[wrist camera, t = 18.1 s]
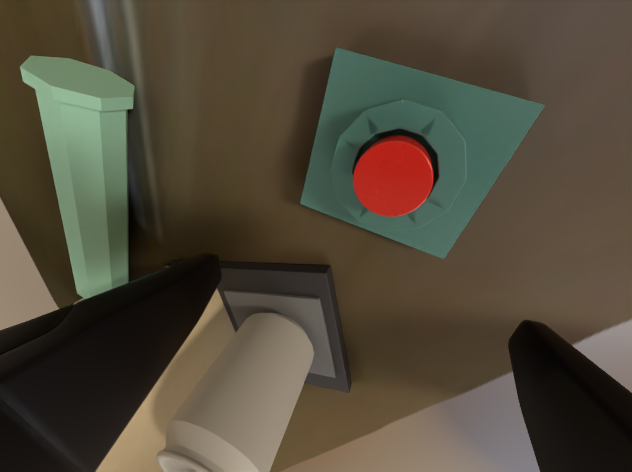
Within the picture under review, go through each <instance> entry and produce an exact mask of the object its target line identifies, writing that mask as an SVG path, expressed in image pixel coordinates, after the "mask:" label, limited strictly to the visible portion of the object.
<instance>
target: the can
mask: <svg viewBox="0 0 632 472" xmlns="http://www.w3.org/2000/svg"><path fill="white" fill-rule="evenodd" d="M313 357H314V350H313V346H312V343H311V342H310V340H309V339H308V336H307V335H306V333H305V331H304V330H303V329H302V328H301V327H300V326H299V325H298V324H297V323H296V322H295V321H293V320H292V319H290V318H289V317H286V316H284V315H281V314H278V313H257V314H253V315H251V316H250V317H248V318H247V319H246V320H245V321H244V323H243V324H242V325H241V327H240V328H239V329H238V330H237V332H236V333H235V334H234V336H233V337H232V338H231V340H230V341H229V342H228V344H227V345H226V346H225V348H224V349H223V350H222V352H221V353H220V354H219V356H218V357H217V358H216V360H215V361H214V362H213V364H212V365H211V366H210V368H209V369H208V370H207V372H206V373H205V374H204V376H203V377H202V378H201V380H200V381H199V382H198V384H197V385H196V386H195V387H194V389H193V390H192V391H191V393H190V394H189V395H188V397H187V398H186V399H185V401H184V402H183V403H182V405H181V406H180V407H179V409H178V410H177V411H176V413H175V414H174V415H173V417H172V418H171V419H170V421H169V422H168V424H167V427H166V445H165V448H164V449H163V450H162V451H159V452H158V454H157V457H156V460H157V462H158V464H159V466H160V467H161V469H162V470H163V471H164V472H269V471H270V469H271V466H272V464H273V461H274V458H275V456H276V453H277V451H278V448H279V446H280V443H281V441H282V438H283V435H284V433H285V430H286V428H287V425H288V423H289V420H290V417H291V415H292V412H293V410H294V407H295V405H296V402H297V400H298V397H299V394H300V392H301V389H302V387H303V384H304V382H305V379H306V377H307V374H308V371H309V369H310V366H311V364H312V361H313Z"/></svg>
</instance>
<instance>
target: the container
mask: <svg viewBox="0 0 632 472" xmlns="http://www.w3.org/2000/svg"><path fill="white" fill-rule="evenodd" d="M20 69H21V74H22V78H23V82H25V83H26V84H28V85H30V86H31V87H33V88H34V89H35V90H36V95H37V100H38V105H39V110H40V115H41V119H42V124H43V129H44V134H45V139H46V144H47V149H48V154H49V158H50V163H51V168H52V173H53V178H54V183H55V188H56V193H57V197H58V202H59V207H60V212H61V217H62V222H63V227H64V232H65V236H66V241H67V246H68V251H69V256H70V261H71V266H72V271H73V275H74V280H75V285H76V290H77V294H79V295H80V296H82V297H83V298H85V299H87V298H90V297H92V296H95V295H97V294H100V293H103V292H105V291H108V290H110V289H113V288H116V287H118V286H121V285H123V284H126V283H129V208H128V109H133V105H134V97H135V86H134V85H133V84H131V83H129V82H128V81H126V80H125V79H123V78H121V77H120V76H118V75H116V74H115V73H113V72H111V71H109V70H106V69H103V68H99V67H96V66H93V65H90V64H86V63H83V62H80V61H76V60H73V59H69V58H56V57H43V56H30V57H29V58H28V59H27V60H26V61H25V62H24V63H23V64H22V65H21V66H20Z"/></svg>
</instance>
